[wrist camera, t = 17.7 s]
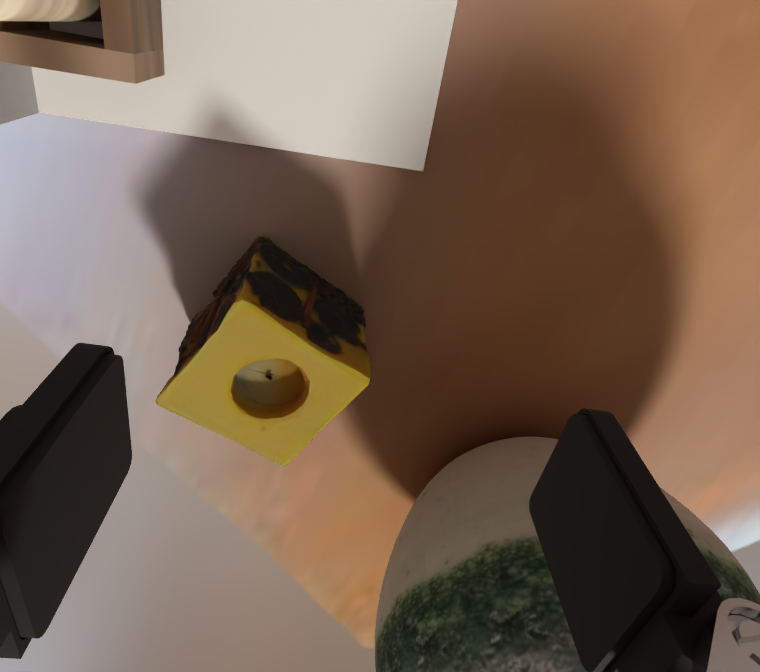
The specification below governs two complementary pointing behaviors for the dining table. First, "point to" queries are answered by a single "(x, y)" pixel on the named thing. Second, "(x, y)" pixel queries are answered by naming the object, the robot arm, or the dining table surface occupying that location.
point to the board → (270, 77)
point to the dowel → (50, 10)
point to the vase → (493, 572)
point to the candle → (270, 356)
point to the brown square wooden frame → (93, 44)
